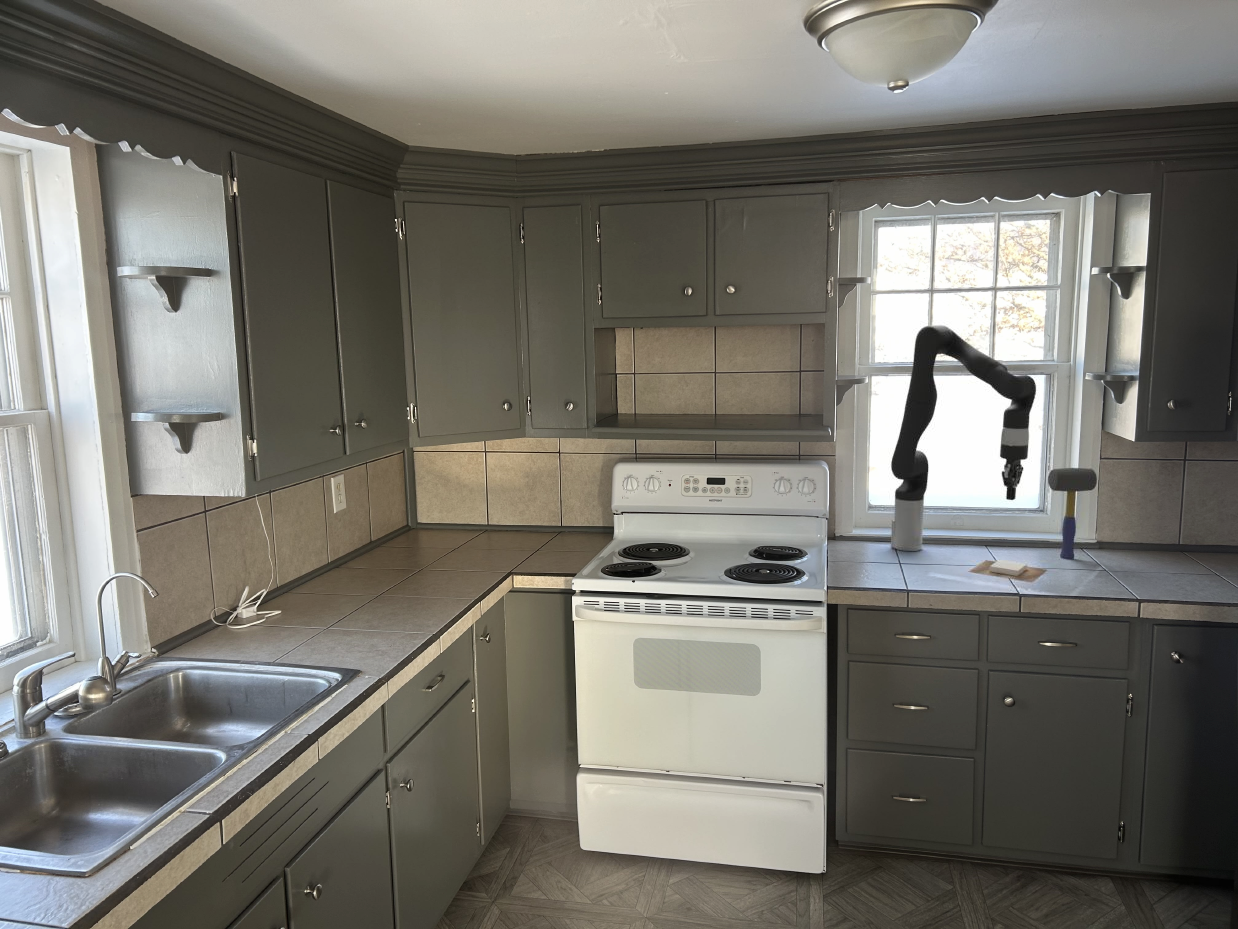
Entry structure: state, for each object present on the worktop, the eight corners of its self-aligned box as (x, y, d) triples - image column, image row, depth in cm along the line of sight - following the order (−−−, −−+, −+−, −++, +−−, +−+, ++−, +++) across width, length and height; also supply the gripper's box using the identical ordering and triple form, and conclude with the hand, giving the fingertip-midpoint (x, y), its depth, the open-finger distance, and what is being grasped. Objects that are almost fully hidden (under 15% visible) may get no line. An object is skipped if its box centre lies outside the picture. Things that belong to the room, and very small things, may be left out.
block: (999, 565, 263) (989, 571, 256) (999, 559, 263) (989, 566, 256) (1026, 569, 258) (1017, 576, 251) (1027, 564, 258) (1018, 570, 251)
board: (968, 575, 257) (968, 571, 257) (985, 563, 269) (986, 560, 269) (1032, 586, 245) (1032, 582, 245) (1047, 573, 257) (1047, 569, 257)
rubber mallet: (1052, 564, 267) (1058, 470, 262) (1041, 558, 274) (1047, 466, 269) (1092, 564, 266) (1099, 469, 261) (1081, 557, 274) (1087, 465, 269)
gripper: (1008, 439, 261) (1004, 494, 264) (994, 444, 252) (990, 501, 255) (1034, 441, 256) (1030, 497, 259) (1020, 446, 247) (1016, 505, 250)
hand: (1010, 499), depth 257 cm, fingers closed
